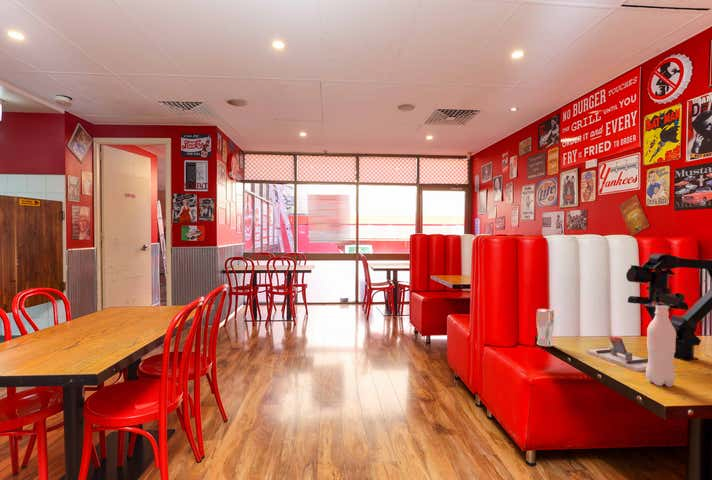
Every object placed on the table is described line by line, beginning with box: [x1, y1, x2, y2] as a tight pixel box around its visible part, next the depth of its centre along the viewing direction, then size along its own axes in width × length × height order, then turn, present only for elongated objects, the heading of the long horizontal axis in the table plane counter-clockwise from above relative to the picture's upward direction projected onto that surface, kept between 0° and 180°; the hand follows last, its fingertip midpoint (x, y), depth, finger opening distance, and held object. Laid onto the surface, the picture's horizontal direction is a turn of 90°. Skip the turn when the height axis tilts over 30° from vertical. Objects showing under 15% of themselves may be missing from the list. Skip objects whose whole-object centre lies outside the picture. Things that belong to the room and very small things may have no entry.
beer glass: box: [535, 308, 555, 348], centre depth 155 cm, size 7×7×15 cm
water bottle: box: [645, 305, 676, 388], centre depth 115 cm, size 7×7×25 cm
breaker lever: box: [608, 335, 628, 355], centre depth 136 cm, size 2×4×7 cm, turn 15°
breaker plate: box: [586, 347, 648, 372], centre depth 137 cm, size 12×20×4 cm, turn 15°
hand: (656, 325), depth 140 cm, fingers closed
